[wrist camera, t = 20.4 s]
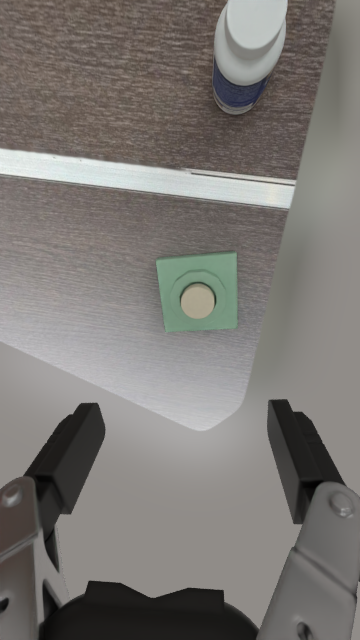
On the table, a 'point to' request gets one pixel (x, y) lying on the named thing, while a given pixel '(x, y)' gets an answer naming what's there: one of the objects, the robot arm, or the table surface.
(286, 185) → the table surface
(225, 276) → the button block
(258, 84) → the pill bottle
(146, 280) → the table surface
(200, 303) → the button
